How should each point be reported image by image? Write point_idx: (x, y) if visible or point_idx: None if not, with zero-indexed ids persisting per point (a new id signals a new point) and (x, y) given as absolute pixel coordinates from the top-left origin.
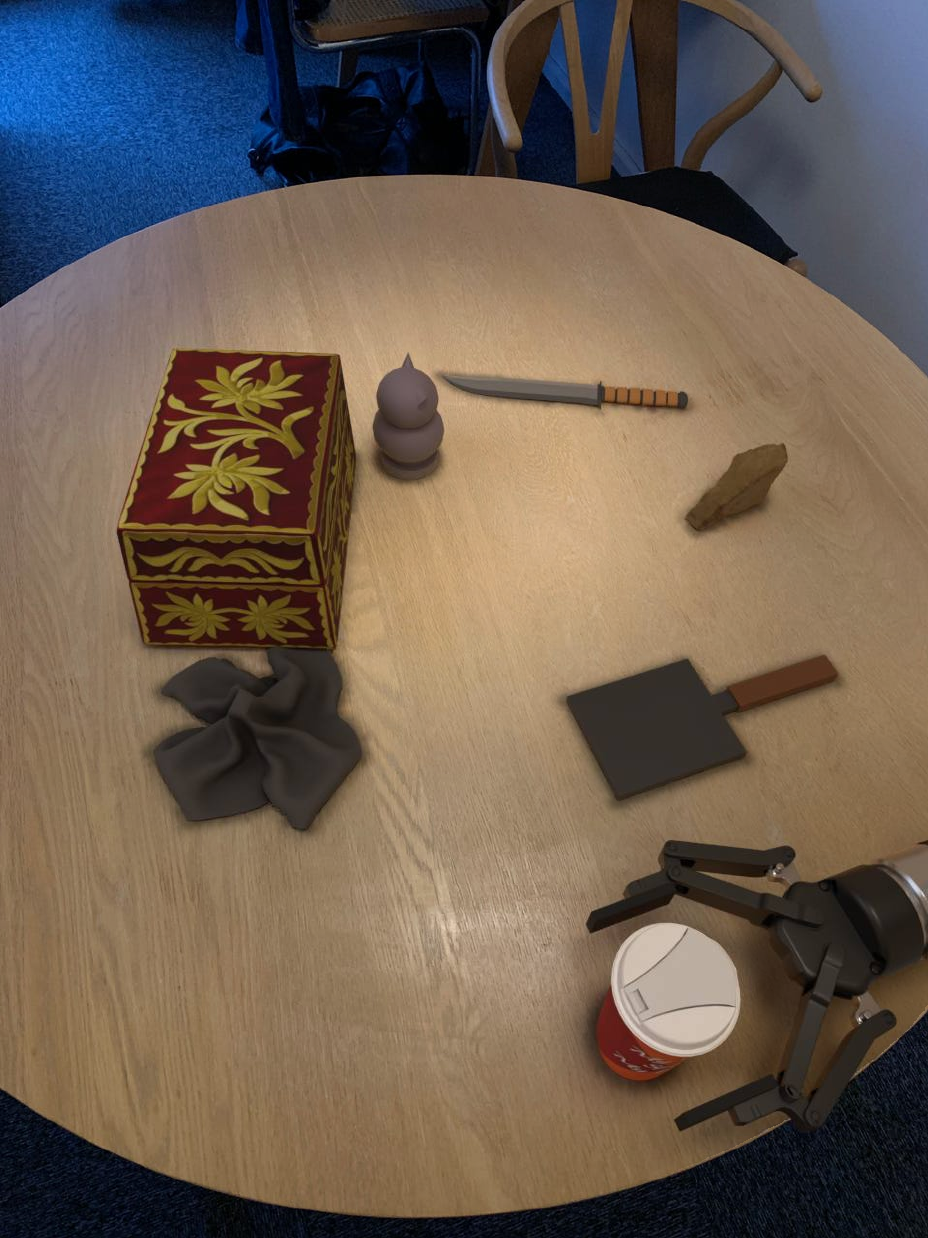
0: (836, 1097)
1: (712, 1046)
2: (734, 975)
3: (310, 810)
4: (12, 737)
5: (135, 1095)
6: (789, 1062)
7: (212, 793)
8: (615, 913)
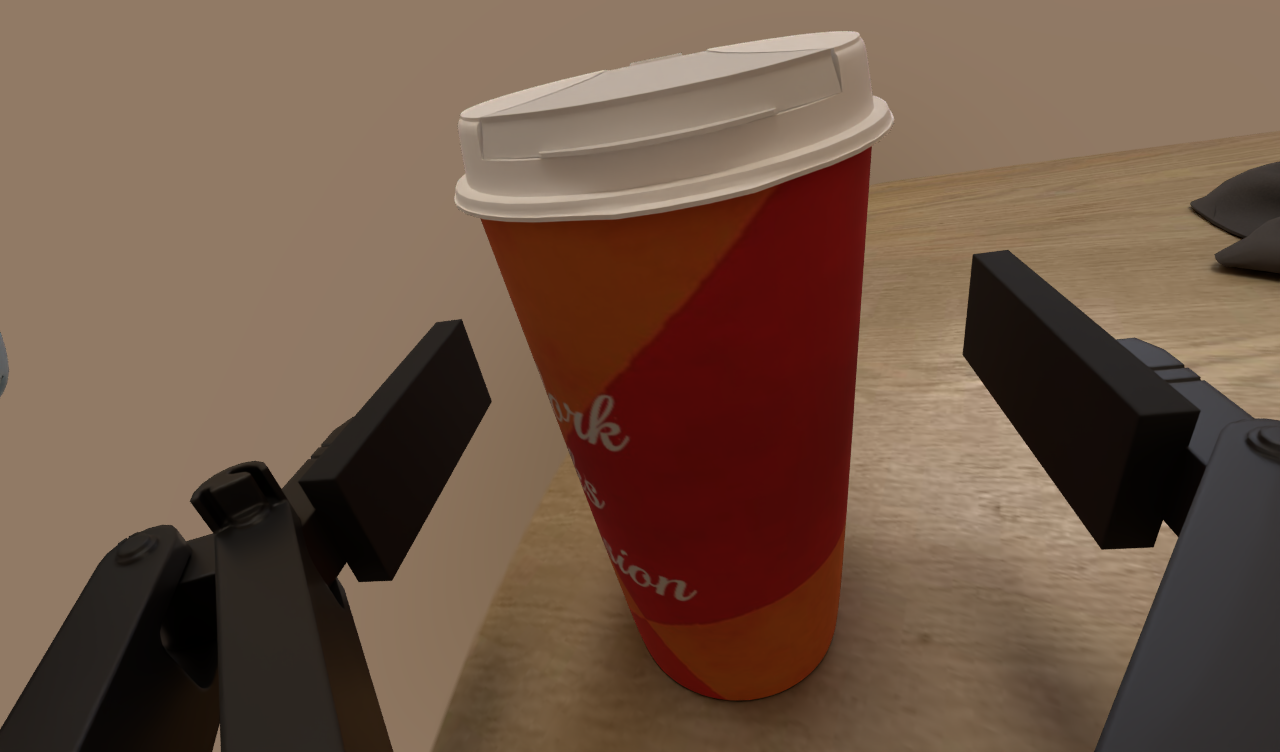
0: (55, 650)
1: (465, 174)
2: (569, 106)
3: (1260, 247)
4: (1272, 132)
5: None
6: (298, 545)
7: (1253, 208)
8: (1001, 279)
